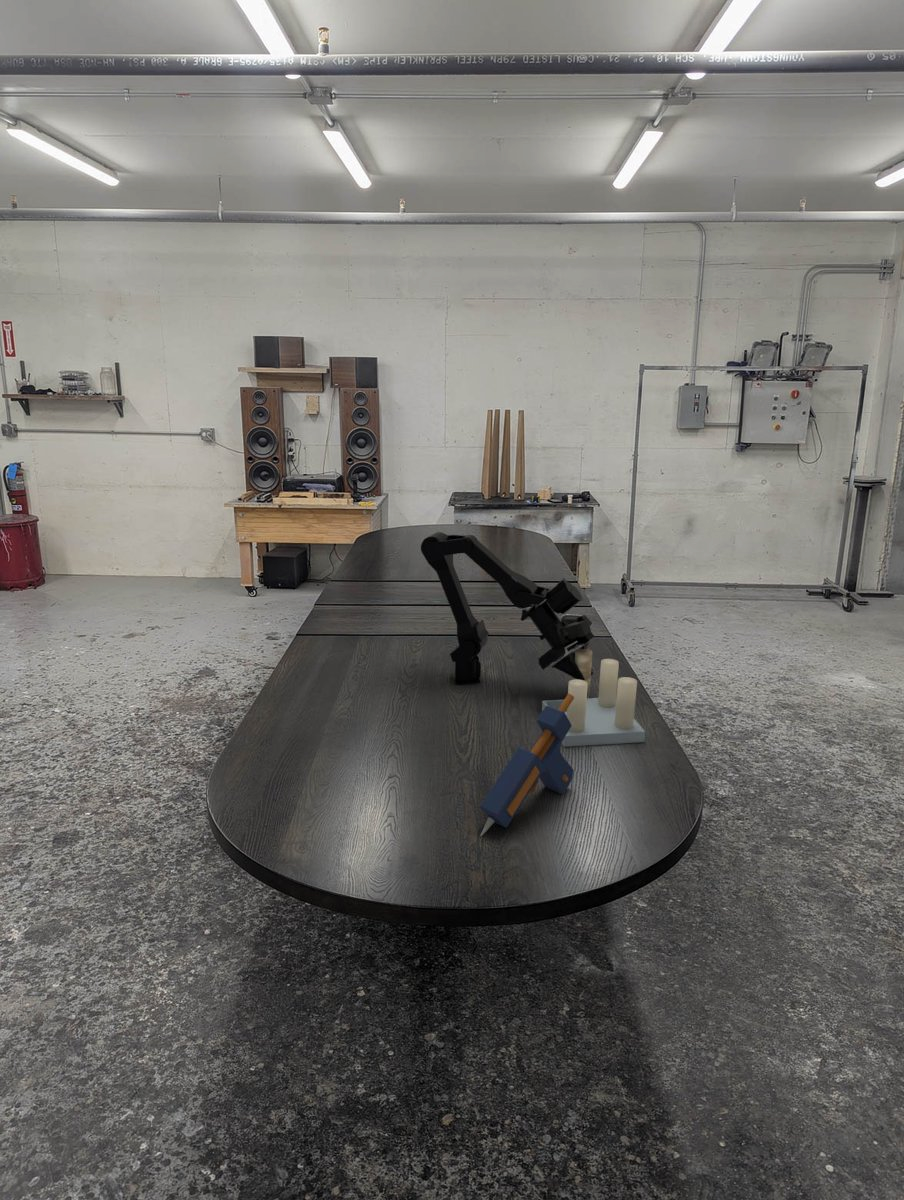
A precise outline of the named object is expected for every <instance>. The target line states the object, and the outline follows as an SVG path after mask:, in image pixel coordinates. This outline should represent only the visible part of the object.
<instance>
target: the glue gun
mask: <svg viewBox="0 0 904 1200" xmlns="http://www.w3.org/2000/svg"><path fill="white" fill-rule="evenodd" d="M573 699H574V696H573V695H571V694H568V693H567V694H566V697H565V698H564V699H563V700H564V701H563V703H562V704H561V706H560V707H559V709H558V710H557V709H554V708H552V707H549V706H546V707H545V708H544V710H543V711H542V710H541V713H540V714H539V716H538V717H537V718H536V723H537V724H538V726H539V728H540V729H541V731H542V732H541V733H540V735H539V737H538V738H537V740H536V742H535V743H534V744H533V746H532V747H531V749H530V751H529V750H527V749H524V748H522V747H520V746H519V747H517V749H516V750H515V752H514V753H513V755H512V756H511V758H510V760H509V761H508V762H507V764H506V766H505V767H504V769H503V771H502V772H501V774H500V775H499V776H498V778H497V779H496V781H495V783H494V784H493V786H492V787H491V788H490V790H489V791H488V793H487V795H486V796H485V798H484V799H483V801H482V802H481V804H480V805H479V806H480V807H479V808H480V809H481V810H482V812H483V813H484V814H485V816H486V818H487V820H486V822H485V824H484V827H483V829H482V831H481V833H480V837H482V836H484V835H485V833H486V832H487V831H488V830H489V829H490V828H491V827H492V826H493V824H498V825H500V826H501V827H504V828H505V829H507V828H508V827H509V825H510V823H511V822H512V820H513V818H515V815H516V814H517V812H518V811H519V809H520V808H521V806H522V804H523V803H524V801H525V799H526V798H527V797H528V794H530V795H533V793H534V791H535V788H536V786H537V785H538V782H539V780H540V781H541V783H542V785H543V786H544V788H547V789H549V790H551V791H554V792H556V793H558V794H560V795H565V792H566V791H567V789H568V788H569V786H570V784H571V783H572V781H573V777H574V768H573V767H572V766H571V765H570V763H569V762H568V761H567V760H566V758H565V757H564V756H563V754H562V753H561V746H562V741H563V739H564V738H565V736H566V734H567V733H568V731H569V730H570V728H571V726H572V725H571V723H570V721H569V719H568V718H567V716H566V714H565V712H567V709H568V707H569V705H570V704H571V702H572V701H573Z"/></svg>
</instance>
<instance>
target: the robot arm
mask: <svg viewBox="0 0 904 1200" xmlns="http://www.w3.org/2000/svg"><path fill="white" fill-rule="evenodd" d="M420 551H421V554H422V556H423V557H424V559H425V561H426V562H427V564H428V565H429V566H430V567H431V568H432V569H433V570H434V571H435V573H436V574H437V577H438V579H439V582H440V584H441V587H442V590H443V592H444V594H445V597H446V600H447V603H448V605H449V607H450V610H451V612H452V615H453V617H454V620H455V622H456V638H457V643H458V645H457V646H456V647H455V648H454V649H453V650H452V651H451V652H450V654H449V655H450V658H451V661H452V673H450V677H451V678H452V680H453V682H454V683H455V684H456V685H466V684H467V685H468V684H480V683H481V679H480V678H481V677H482V675H481V674H482V673H481V672H482V670H481V669H482V668H481V667H482V663H481V662H480V657H479V656H478V655H479V654H480V653H481V652H482V650H483V649H484V648H485V646H486V645H487V643H488V641H489V638H488V635H489V632H488V630H487V629H486V625H485V621H484V620H483V619H481V620H479V621H478V619H476V617H475V616H474V615H473V612H472V610H471V606H470V605H469V602H468V599H467V597H466V594H465V591H464V589H463V587H462V583H461V582H460V579H459V575H458V574H457V571H456V569H455V568H456V567H455V565H454V555H458V554H464V555H466V556H467V557H468V558H469V559H470V560H472V561H473V563H475V564H477V566H479V567H480V568H481V569H482V570H483V571H484V572H485V573H486V574H487V575H488V576H490V577H491V578H492V579H493V580H494V581H495V582H497V584H499V586H500V587H501V589H502V591H503V593H504V595H505V596H506V597H507V599H508V600H509V601H510V602H511V603H512V605H513V606H515V607H516V608H518V609H522V610H521V618H520V620H521V622H522V621H523V622H524V621H526V620H529V619H530V620H531V622H532V623H533V624H534V626H535V627H536V629H537V630H538V632H539V633H540V634H541V635H540V636H538V638H539V639H540V640H541V641H543V640H545V641H546V643H547V644H548V645H549V647H550V649H548V650H547V652H544V653H543V654H542V655H541V656H540V657H539V658H538V659H537V660H538V661H537V664H538V666H539V667H540V668H541V671H544V670H546V669H547V668H549V667H550V666H551V665H552V664H553V663H554V664H553V665H552V666H551V668H552V669H557V670H558V671H561V672H562V673H565V674H566V675H568V676H570V677H572V678H573V679H574V678H575V679H579V680H585V679H584V677H583V675H582V673H581V671H580V670H579V668H578V666H577V665H576V663H575V651H576V650H577V649H588V646H589V645H590V641H591V640H593V639H594V638H595V635H594V634H593V632H592V629H591V626H592V624H593V622H592V621H591V620H590V618H588V617H587V616H586V614H584V615H581V616H580V617H578V618H577V621H576V622H574V623H572V624H568V622H567V621H565V620H563V621H561V618H560V617H559V616H558V615H559V614H562V615H565V614H566V613H567V612H569V611H570V610H572V609H573V608H574V607H575V606H577V605H578V604H579V603H580V602H582V601H583V597H582V594H581V592H580V591H579V590H578V588H577V587H576V586H575V585H573V584H572V583H570V582H568V581H567V580H566V579H565V578H562V579H561V580H560V581H558V583H557V584H556V585H555V586H553V587H552V588H547V587H544V586H540V585H537V584H536V582H534V581H533V580H530V579H529V578H527V577H526V576H524V575H522V574H519V572H518V573H517V572H515V571H513V570H512V569H511V568H509V567H508V566H507V564H505V563H504V562H503V561H502V560H501V559H499V558H498V557H497V556H496V555H495V554H494V553H493V552H492V551H491V550H490V549H488V548H487V547H486V546H485V545H483V544H482V542H481V541H479V539H478V538H477V537H476V536H475V535H472V534H467V535H463V534H446V533H443V532H439V531H438V532H434V533H433V534H431V535H429V536H427V537H426V538H424V539H423V540H422V543H421V545H420ZM529 607H530V608H529ZM527 608H529V609H527ZM593 675H594V672H593V669H592V667H591V677H592V676H593Z"/></svg>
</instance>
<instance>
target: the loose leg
mask: <svg viewBox="0 0 904 1200" xmlns="http://www.w3.org/2000/svg"><path fill="white" fill-rule="evenodd" d="M592 662H593V650H591V649H588V648H587V649H577V650H576V651H575V663H576V665H577V666H578V668H579V670H580V671H581V673H582V675H583V677H584V679H585V680H584V681H586V682H587V683H588V687H587V698H590V693H591V679H592V676H591V668H592V664H593V663H592ZM574 679H575V678H573V680H574Z"/></svg>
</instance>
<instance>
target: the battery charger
mask: <svg viewBox="0 0 904 1200" xmlns="http://www.w3.org/2000/svg"><path fill="white" fill-rule="evenodd" d="M580 616H582V614H574V613H573V614H571V613H568V614H566V613H565V614H562V615H561V617H560V620H561V621H563V620H565V621H567V622H568V624H572V623H574V622H576V621H577V618H578V617H580Z"/></svg>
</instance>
